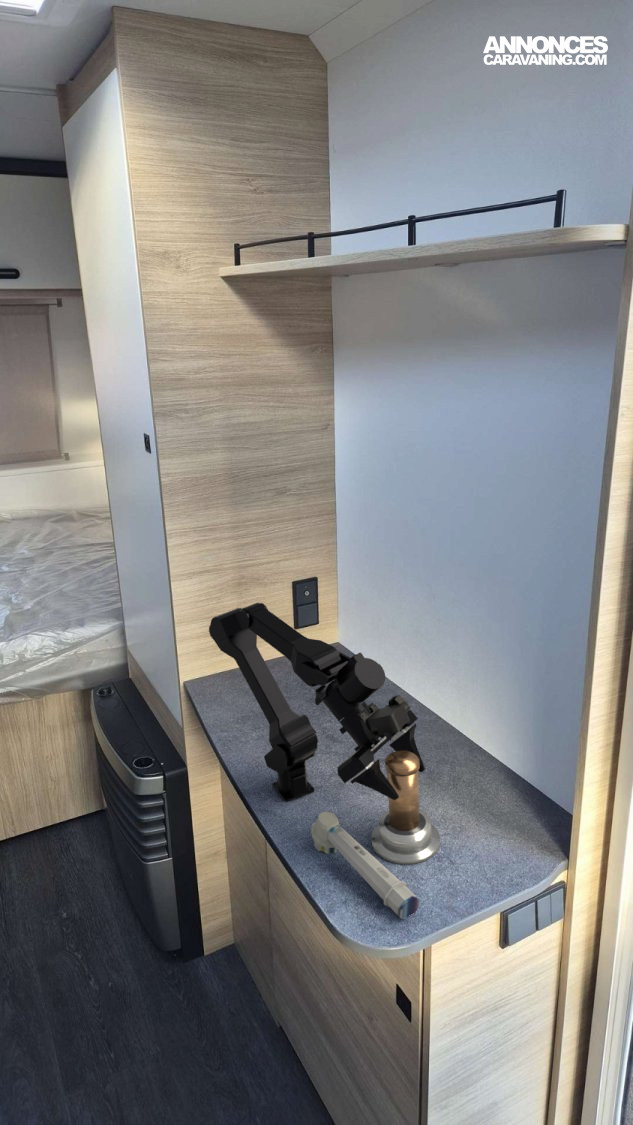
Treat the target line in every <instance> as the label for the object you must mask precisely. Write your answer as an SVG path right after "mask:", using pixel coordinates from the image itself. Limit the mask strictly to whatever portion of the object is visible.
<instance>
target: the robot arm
mask: <svg viewBox="0 0 633 1125" xmlns="http://www.w3.org/2000/svg"><path fill="white" fill-rule="evenodd" d="M208 633H209V635H210V637H211V639H212V641H214V642H215V644H216V646H217V648H218V649H219V650H220V652H222V653H224V654H225V655H227V656H229V657H230V658H233V660H234V661H235V663H236V665H237V666H238V668H239V670H240V672H241V674H242V676H243V678H244V680H245V681H246V683H247V685H248V687H249V688H250V690H251V692H252V694H253V696H254V698H255V699H256V700H255V701H256V702H257V703H258V705H259V707H260V709H261V711H262V712H263V715H264V716H265V718H266V720H267V722H268V724H269V728H268V729H269V730H268V741H269V744H270V746H271V750H269V752H267V753H266V754H265V755H264V756H263V758H264V761H265V764H266V767H267V768H269V769H271V770H273V771H274V772H276V775H277V776H276V778H277V781H275V782H272V783H271V786H272V788H273V789H274V790H275V791H276V793H277V794H278V795H279V796H280V797H281V799H282V800H283V801H284V802H288V801H292V800H295V799H296V798H300V797H302V796H305V795H308V794H311V793H314V791H315V787H314V786H313V785H312V784H311V783H310V782H309V780H308V776H307V766H306V765H307V764H306V761H308V760H309V759H311V758H313V757H314V756H316V755H315V754H316V751H317V749H318V743H319V739H318V738H319V737H318V736H317V734H316V733H317V731H316V730H315V728H314V727H313V725H312V724H311V722H310V719H309V717H308V716H307V715H306V714H302V715H299V714H297V713H295V712H294V711H293V710H292V709H291V707H290V705H289V703H288V702H287V700H286V698H285V695H284V694H283V692H282V690H281V689H280V687H279V685H278V682H277V681H276V679H275V678H274V676H273V673H272V672H271V670H270V669H269V666H268V665H267V663H266V661H265V659H264V657H263V655H262V654H261V652H260V650H259V649H258V646H257V641H258V640H257V639H258V637H259V638H260V639H262V640H263V641H264V642H266V643H267V644H268V645H270V646H271V647H272V648H273V649H275V650H276V651H277V652H278V653H280V654H281V655H283V656H284V657H285V658H287V659H288V660H289V662H290V663H291V667H292V671H293V672H294V674H295V675H296V676H298V677H299V679H301V681H302V682H303V683H304V684H305V685H307V686H309V687H310V688H313V687H317V686H319V687H317V688H316V689H315V692H314V693H315V698H314V703H315V706H319V705H320V704H322V703H323V704H324V705H325V706H326V707H327V709H328V710H329V711H330V712H331V714H332V715H333V716H334V717H335V719H336V720H337V721H338V722H339V724H340V725H341V726H342V727H341V728H339V732H340V733H341V735H344V734H345V733H347V734H348V735H349V736H350V737H351V739H352V740H353V741H354V742H355V745H357V746H356V747H355V748H354V750H355V752H354V753H353V754H351V755H349V757H348V758H346V759H345V760H343V762H342V763H340V765H338V766H337V776H338V777H339V778H340V780H341V781H342V782H343V783H344V784H346V783H347V782H349V781H350V783H351V784H355V783H357V784H360V785H362V786H364V787H366V788H369V789H371V790H373V791H375V792H377V793H379V794H380V795H383V796H385V797H387V798H388V797H389V798H391V799H393V800H396V799H398V798H399V796H398V794H397V792H396V791H395V789H394V788H393V786H392V785H391V784H390V782H389V781H388V779H387V777H386V775H385V774H384V773H383V771H382V770H381V762H380V759H379V758H378V759H377V760H375V756H374V755H375V754H376V753H377V752H379V750H381V748H383V746H385V745H386V744H387V743H388V742H389V741H391V743H390V744H388V745H389V747H390V748H391V749H393V750H394V752H395V751H409V752H412V753H414V754H415V755H417V756H418V758H419V763H420V768H419V770H418V773H423V772H424V771H425V770H426V768H425V765H424V762H423V760H422V757H421V755H420V752H419V749H418V746H417V743H416V740H415V732H416V731H415V730H416V729H417V723H415V722H416V721H417V720H418V717H417V716H416V714H415V713H414V712H413V711H412V710H411V706H410V705H409V703H408V702H407V701H406V700H405V699H404V697H403V696H401V694H398V695H393V696H392V697H391V698H390V699H389V700H388V704H387V705H386V706H384V707H382V708H379V706H378V705H377V704H375V703H373V702H371V703H370V704H368V703H367V702H366V700H368V699H369V697H371V696H373V694H374V693H375V692H377V691H378V690H379V689H380V688H382V687H383V685H385V682H386V673H385V669H384V668H383V666H382V665H381V664H380V663H378V662H377V661H376V660H374V659H372V658H370V657H365V656H364V655H363V654H362V652H358V653H357V654H354V655H353V656H351V657H350V656H348V655H346V654H345V653H343V652H340V651H339V650H338V649H337V648H336V647H335V646H333V645H331V644H329V643H327V642H325V641H323V640H319V639H314V638H309V637H306V636H305V635H303V634H301V633H300V632H299V631H298V630H296V629H294V628H293V627H292V626H290V625H289V624H288V623H287V622H286V621H283V620H282V619H280V617H278V616H277V615H275V614H274V613H272V612H271V611H270V610H269V609H268V607H267V606H266V605H265V604H264V603H262V602H255V603H253V604H250V605H247V606H244V607H236V608H235V609H231V610H229V611H227V612H223V613H222V614H220V615H217V616H214V617H212V619H211V621H210V625H209V626H208ZM379 738H380V739H379Z"/></svg>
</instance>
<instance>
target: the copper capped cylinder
mask: <svg viewBox="0 0 633 1125" xmlns="http://www.w3.org/2000/svg"><path fill="white" fill-rule="evenodd" d="M384 768H385V771H386V774H387V775H386V776H387V777H386V778H387V780H388V781H389V782H390V784H391V785H392V786H393V788H394V789H395V791H396V792H397V794H398V796H399V798H398V799H396V800H393V799H391V798H389V797H387V799H388V810H389V823H390V825H391V826H392V827H393V828H394V829H396V830H399V831H410V830H413V829H415V828H416V827H417V826H418V825H419V809H420V796H419V795H420V794H419V790H420V789H419V771H418V770H419V768H420V763H419V758H418V756H417V755H415V754H414V753H412V752H409V751H395V750H394V751H393V752H390V753H389V754H388V755H387V756H386V757H385V759H384Z"/></svg>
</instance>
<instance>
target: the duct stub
mask: <svg viewBox="0 0 633 1125" xmlns="http://www.w3.org/2000/svg"><path fill="white" fill-rule="evenodd" d="M378 820H379V821H378V824H377V825H376V826H375V827H374V828H373V830H372V832H371V837H370V839H371V840H370V842H371V848H372V849H373V851H374V853H376V855H377V856H378V857H380V858H381V859H383V860H384V861H387V862H390V863H392V864H397V865H403V866H404V865H416V864H420V863H423V862H427V861H428V860H430V859H431V858H433V857H434V856H435V855H436V854H437V853H438V851H439V850H440V847H441V836H440V832H439V830H438V829H437V827H435V825H434V824H432V821H431V817H430V816H429V815H428V813H427V812H425V811H424V810H422V809H420V808H419V825H418V826H417V827H416V828H415V829H413V830H410V831H399V830H396V829H394V828H393V827H392V826H391V825H390V823H389V809H387V810H386V811H384V812H383V813H382V814H381V816H380V817H379V819H378Z"/></svg>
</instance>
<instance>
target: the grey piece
mask: <svg viewBox="0 0 633 1125" xmlns="http://www.w3.org/2000/svg"><path fill="white" fill-rule="evenodd" d="M339 822H340V821H339V819H338V817H337V815H335V814H334V813H332V812H329V811H323V812H320V813H319V815H318V816H317V818H316V821H315V822H314V823H313V824H312V825H311V829H310V833H311V837H312V838H311V839H312V840H313V844H314V848H315V849H316V850H317V851H318V852H322V853H325V854H327V855H329V854H332V855H333V854H335V853H337V852H339V853H340V854H341V855H342V856H343V857H344V859H345V860H347V862H348V863H349V864H350V865H351V867H353V868H354V870H355V871H356V872H357V873H358V874H359V875H360V876H361V878H362V879H364V880H365V882H366V883H367V884H368V885H369V886H370V887H371V888H372V889H373V890H374V891H375V892H376V894H378V897H380V898H381V899H382V900H383V905H384V906H386V907H388V908H390V909H391V911H393V912H394V913H395V914H396V915H397V916H398V917H399V918H400V919H401V920H405V919H404V918H406V917H408V916H409V915H411V914H413V913H414V914H416V912H417V911H418V909H419V908H420V899H419V898H418V897H417V896H416V895H415V894H414V893H413V892H412V891H411V889H409V888H408V883H407V882H404V881H402V880H400V879H398V877H396V876H395V875H394V874H393V873H392V872H391V871H390V870H389V869H388V868H387V867H385V866H384V865H383V864H382V863H381V862H380V861H379V860H378V859H377V858H376V857H374V856H373V855H372V854H371V853H370V852H369V851H368V850H367V849H365V847H363V846H362V845H361V844H360V843H359V842H358V841H357V840H356V839H355V838H354V837H352V836H351V834H349V833H348V832H347V831H346V830H345V829H343V828H342V827H341V825H340V823H339ZM414 914H413V915H414ZM411 916H412V915H411ZM409 917H410V916H409ZM409 917H408V918H409ZM406 919H407V918H406Z"/></svg>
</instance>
